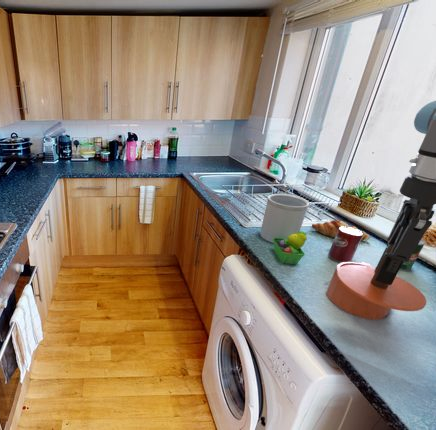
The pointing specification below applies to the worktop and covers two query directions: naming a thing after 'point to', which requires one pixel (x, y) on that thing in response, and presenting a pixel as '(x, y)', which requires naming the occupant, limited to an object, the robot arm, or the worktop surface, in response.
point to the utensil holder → (283, 216)
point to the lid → (381, 287)
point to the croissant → (335, 228)
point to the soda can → (345, 244)
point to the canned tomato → (412, 257)
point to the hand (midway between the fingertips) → (382, 277)
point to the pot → (353, 298)
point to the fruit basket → (290, 247)
